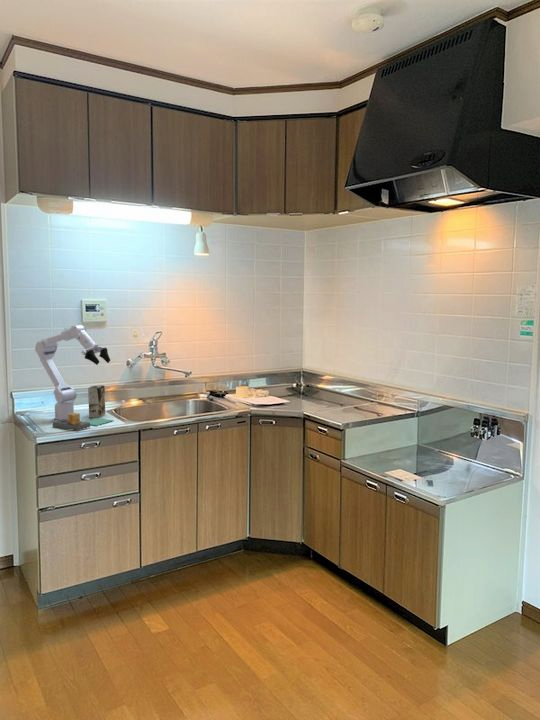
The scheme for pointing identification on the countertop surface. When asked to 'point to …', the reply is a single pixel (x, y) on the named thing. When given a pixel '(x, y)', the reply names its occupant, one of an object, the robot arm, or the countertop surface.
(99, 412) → the coffee box
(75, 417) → the peg
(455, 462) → the countertop surface
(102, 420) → the mat
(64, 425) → the rail plate
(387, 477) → the countertop surface
